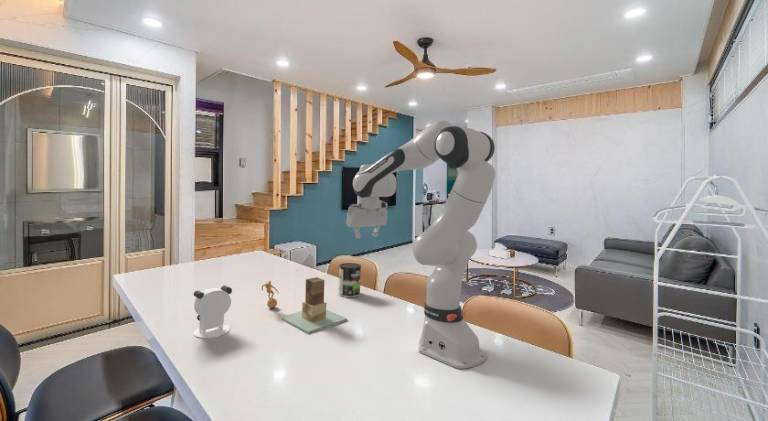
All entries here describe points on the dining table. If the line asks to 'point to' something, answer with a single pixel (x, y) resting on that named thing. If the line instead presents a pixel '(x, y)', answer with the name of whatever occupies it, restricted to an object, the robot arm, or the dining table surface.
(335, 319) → the plate
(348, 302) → the dining table surface
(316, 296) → the walnut brick
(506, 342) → the dining table surface
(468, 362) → the robot arm
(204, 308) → the panda figurine
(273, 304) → the figurine
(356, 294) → the coffee can
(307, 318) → the base brick
